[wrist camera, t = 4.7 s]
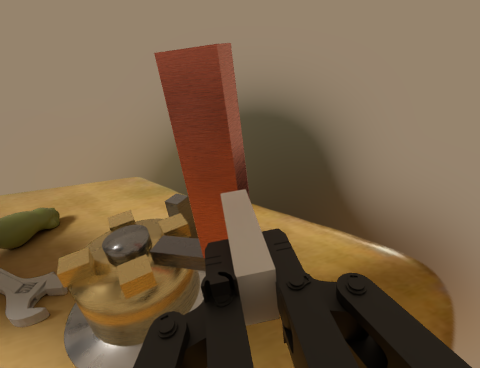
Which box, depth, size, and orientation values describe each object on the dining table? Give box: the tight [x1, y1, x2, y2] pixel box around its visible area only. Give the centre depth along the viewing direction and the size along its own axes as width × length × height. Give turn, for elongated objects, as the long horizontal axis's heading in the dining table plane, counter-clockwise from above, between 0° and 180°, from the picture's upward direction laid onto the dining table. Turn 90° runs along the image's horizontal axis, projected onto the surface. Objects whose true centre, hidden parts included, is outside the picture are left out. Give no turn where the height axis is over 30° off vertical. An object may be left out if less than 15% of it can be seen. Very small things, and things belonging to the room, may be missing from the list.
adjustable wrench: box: [0, 268, 68, 327], centre depth 37 cm, size 25×6×2 cm, turn 60°
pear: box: [0, 208, 60, 249], centre depth 46 cm, size 6×5×10 cm
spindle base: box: [64, 194, 206, 368], centre depth 29 cm, size 17×17×10 cm
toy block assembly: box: [57, 43, 250, 346], centre depth 24 cm, size 19×12×24 cm, turn 74°
